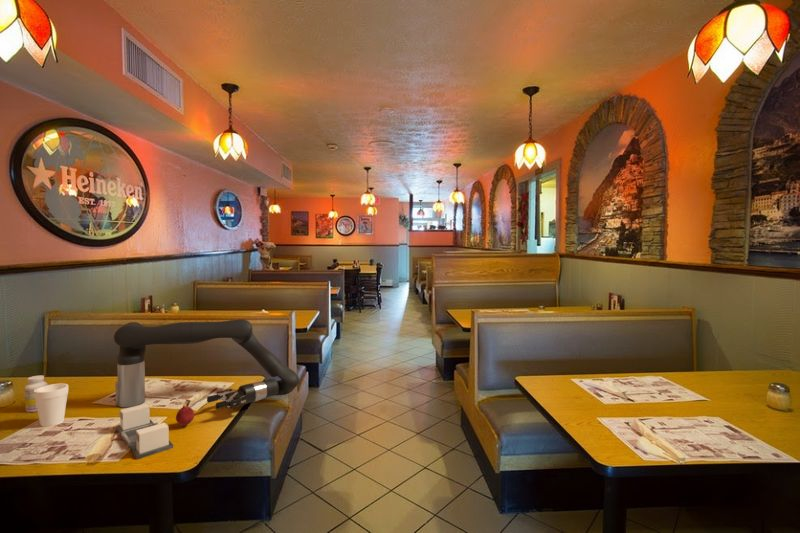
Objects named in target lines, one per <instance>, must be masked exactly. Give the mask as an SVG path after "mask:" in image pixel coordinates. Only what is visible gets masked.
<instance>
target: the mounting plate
mask: <svg viewBox="0 0 800 533" xmlns="http://www.w3.org/2000/svg"><path fill="white" fill-rule="evenodd" d="M158 424H159V423H158V422H156V421H155V422H153V421H152V419H150V423H148V424H144V425H140V426H137V427H133V428H129V429H126V430H123V429H122V428H121V426H120V425H116V426H115V427H116V431H117V432H118V434H119V435H120V437H121V438H122V440H123V439H124V440H123V441H124V442H126V443H125V444H126V445H128V446H127V447H128V448H130V449H129V450H130V452H131V453H132V455H133V456H134V458H135V459H136V460H140V459H142V458H145V457H149V456H152V455H154V454H158V453H161V452H165V451H168V450H170V449H174V444H173V443H172V442H171V441H170V440H169V445H166V446H163V447H160V448H157V449H153V450H150V451H147V452H144V453H141V454H140V453H139V452H138V451H137V449H136V438H135V433H136V430H140V429H143V428H147V427H150V426H154V425H158Z"/></svg>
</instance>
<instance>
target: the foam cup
mask: <svg viewBox="0 0 800 533" xmlns="http://www.w3.org/2000/svg"><path fill="white" fill-rule="evenodd" d="M68 394H69V384H68V383H52V384H48V385H46V386H42V387H39V388H37V389H35V390H34V398H35V401H36V406H37V411H36V412H37V414H38V419H39V423H40V427H43V428H44V427H45V428H46V427H47V428H48V427H49V428H50V427H53V426H58V425H60V424H62V423H64V420H65V414H66V406H67V400H68Z"/></svg>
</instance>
